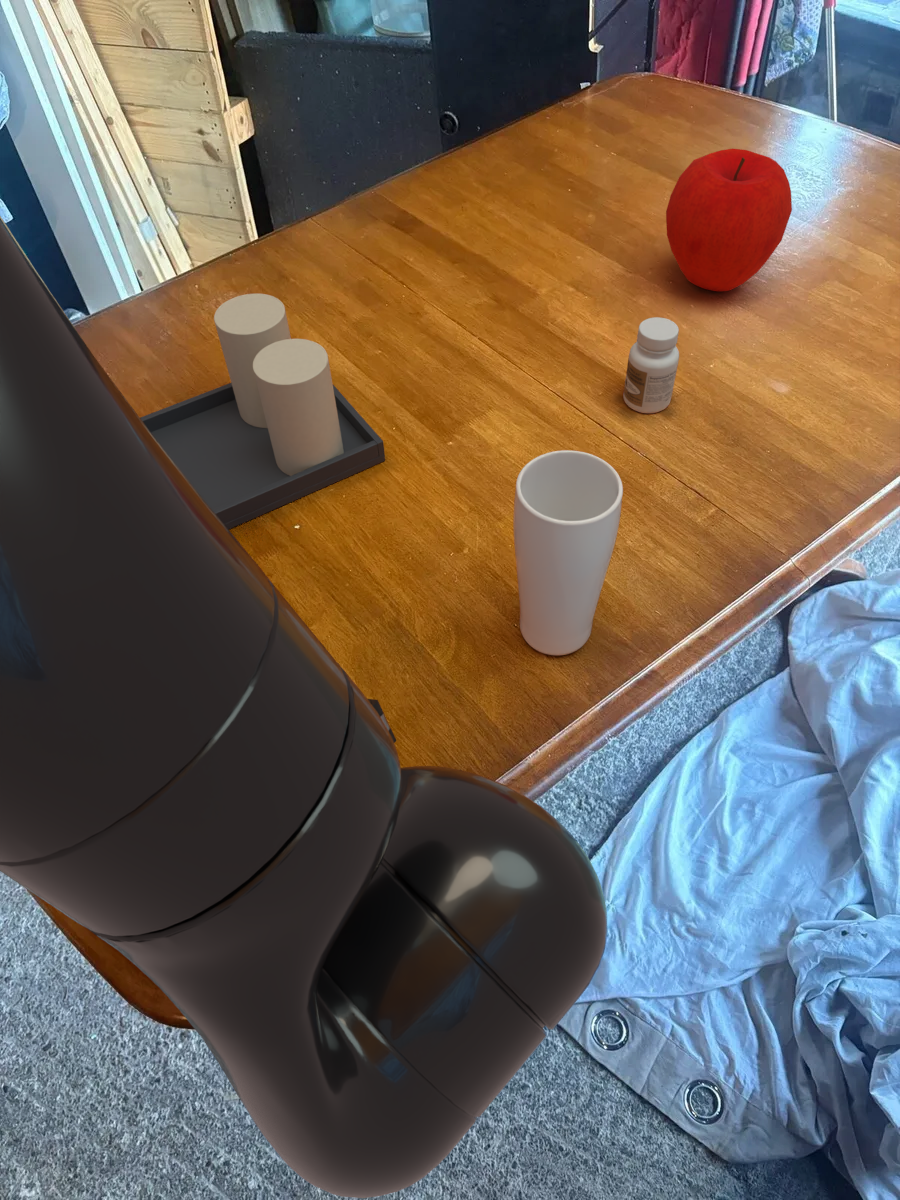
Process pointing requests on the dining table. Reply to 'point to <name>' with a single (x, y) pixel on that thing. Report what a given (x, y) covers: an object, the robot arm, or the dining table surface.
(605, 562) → the drinking glass
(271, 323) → the ivory candle
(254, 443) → the tray
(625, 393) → the pill bottle
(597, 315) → the dining table surface
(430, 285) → the dining table surface
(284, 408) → the ivory candle
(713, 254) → the apple
